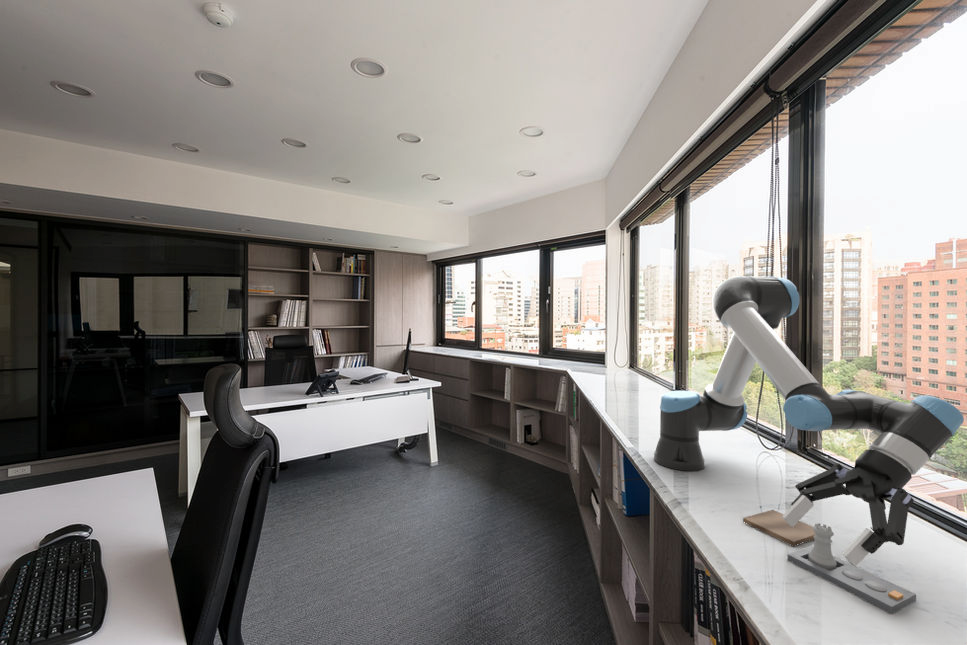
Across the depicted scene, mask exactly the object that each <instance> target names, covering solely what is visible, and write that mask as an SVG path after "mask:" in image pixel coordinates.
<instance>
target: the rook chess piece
mask: <svg viewBox="0 0 967 645" xmlns="http://www.w3.org/2000/svg"><path fill="white" fill-rule="evenodd" d="M812 529H813V531H814V532H815V535H814V538H815V539H814V544H813V547H814V548H813V550H811V552H810V553H809V555H808V557H809V559H808V561H810V562H812V563H814V564H816V565H818V566H820V567H822V568H824V569H826V570H828V571H831V570H834V569H836V568H837V567H836V565H837V563H836V561H835V559H834V557H833V556H834V555H833V553H832V543H833V540H832V538H833V536H835V533H834V532H833V530H832V527H831V526H827V524H824V523H823V524H821V523H818V522H817V523H815V524H814V526H813V528H812ZM832 555H833V556H832Z"/></svg>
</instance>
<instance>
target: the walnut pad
mask: <svg viewBox="0 0 967 645" xmlns="http://www.w3.org/2000/svg"><path fill="white" fill-rule="evenodd" d="M784 514H785V513H782V512H779V511H777V510H775V509H770V510H766V511H763V512H759V513H756V514H752V515H748V516H746V517H742V520H743V521H742V523H744V522H745V523H744V524H746V523H747V524H746V525H748V526H750V527H752V528H755V529H757V530H759V531H761V532H763V533H765V534H766V535H769V536H771V537H774V538H775V539H777V540H779V541H781V542H783V541H784V543H785V542H786V543H785V544H787V543H788V545H790V544H791V545H790V546H792V545H793V546H792V547H796V546H798V545H797V544H799V545H801V544H800V543H802V542H805V543H807V542H806V541H808V542H810V541H809V540H811V541H813V540H815V538H814V535H815V532H814V531H813V529H812V528H813V527H814V526H812V525H810V524H808V523H806V522H804V521H800V520H799V521H798V522H797V523H796V524H795V525H794V526H793V527H792V526H790V525H789V524H788V523H787V522H786V521H785V520H784V519H783V518H782V516H783V515H784ZM812 539H813V540H812ZM802 544H803V543H802ZM795 545H796V546H795Z"/></svg>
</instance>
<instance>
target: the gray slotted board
mask: <svg viewBox="0 0 967 645" xmlns="http://www.w3.org/2000/svg"><path fill="white" fill-rule="evenodd" d="M813 548H814V545H810V546H807V547H803V548H801V549H797V550H795V551H792V552H790V553H787V555H786V556H787V559H786V560H787V562H791V563H793V564H794V565H796V566H798V567H800V568H802V569H804V570H806V571H807V572H810V573H812V574H813V575H816V576H818V577H819V578H821V579H824V580H825V581H827V582H829V583H831V584H833V585H835V586H837V587H838V588H840V589H842V590H845V591H847V592H849V593H851V594H852V595H854V596H856V597H858V598H861V599H862V600H864V601H866V602H868V603H870V604H871V605H874V606H875V607H877V608H879V609H882V610H883V611H885V612H887V613H889V614H891V615H893V614H894V613H896V612H898V611H901V609H904V608H905V607H908V606H909V605H911V604H913V603H915V602H916V601H917V593H915V592H912V591H910V590H908V589H906V588H904V587H902V586H899V585H897V584H895V583H893V582H891V581H889V580H888V579H887V580H886V579H885V578H883V577H880V576H878V575H876V574H874V573H872V572H870V571H867V570H865V569H863V568H861V567H858V565H857V566H856V567H855V566H853V565H852V564H851V563H850V562H849V561H846V560H843V559H841V558H839V557H837V556H834V555H833V554H832V556H833V557H834V559H835V561H836V563H837V565H836V569H834V570H831V571H828V570H826V569H824V568H822V567H820V566H818V565H816V564H814V563H812V562H810V561H808V560H807V559H809V557H808V555H809V553H810V552H811V550H813Z"/></svg>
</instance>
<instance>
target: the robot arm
mask: <svg viewBox="0 0 967 645" xmlns="http://www.w3.org/2000/svg"><path fill="white" fill-rule="evenodd" d="M797 290H798V288H797V286H796V285H795V283H793V282H792V280H789V279H788V278H786V277H785V278H784V277H777V276H774V275H773V276H771V275H770V276H769V275H768V276H747V275H746V276H744V275H736V276H732V277H729V278H726V279H724V280H723V281H722V282H721V283H719V285H718V286H716V289H715V290H714V292H713V295H712V302H711V303H712V308H713V312H714V313H715V316H716V317H717V319H718V320H719V321H720V323H721V325H723V326H724V327H726V328H730V329H731V331H732V335H731V337H730V339H729V341H728V344H727V347H726V349H725V352H724V354H723V357H722V360H721V362H720V364H719V368H718V369H717V373H716V374H715V378H714V380H713V383H709V384H708V385H706V387H705V389H704V391H703V393H702V395H701V394H699V393H698V392H696V391H693V390H692V391H691V390H672V391H668V392H666V393H664V394H663V395H662V396H661V398H660V405H659V409H660V417H659V418H660V419H659V420H660V422H659V423H660V424H659V425H660V426H659V430H660V431H659V440H658V441H657V445H656V447H655V450H654V453H653V460H654V461H655V462H656V463H657V464H659V465H661V466H663V467H666V468H668V469H669V468H670V469H674V470H677V471H686V472H687V471H690V472H692V471H695V472H696V471H700V470H703V469H704V468H705V458H704V456H703V452H702V448H701V445H700V442H699V441H700V438H699V437H700V432H710V431H712V432H714V431H715V432H716V431H723V432H724V431H727V432H728V431H732V430H738V429H740V428H741V427H742V426H743V425H744V424H745V423H746V421H747V418H748V411H747V409H748V407H747V404H746V402H745V401H746V400H745V397H744V396H743V392H744V390H745V387H746V385H747V383H748V382H749V379H750V376H751V374H752V372H753V369H754V367H755V364H757V365H758V367H760V368H761V370H762V372H763V373H764V375H766V376H767V378H768V380H770V381H771V383H772V384H773V386H774V387H775V388H776V390H777V391H778V392H779V393H780V395H781V396H782V397H783V399H784V400H785V401H784V404H783V408H782V412H783V413H784V418H785V420H786V422H787V423H788V424H790V425H791V426H792V427H794V428H795V429H797V430H800V431H810V432H811V431H812V432H823V431H834V430H847V431H848V430H870V431H873V432H876V433H879V434H880V435H878V436H877V438H876V439H875V440H873V442H871V443H870V445H869V446H868V449H865V450H863V452H862V453H861V454H860V455H859V456H858V458H856V459H855V461H854V463H855V464H854V467H852V468H851V469H850V470H848V469H847V468H844V467H843V465H842V464H841V463H838V462H837V463H835V464H833V465H832V466H831V467H830V468H829V469H827V470H825V471H823V472H821V473H820V472H819V473H818V474H816V475H814V476H812V477H810V478H808V479H806V480H804V481H803V480H802V481H801V482H799V483H797V484H796V485H795V486H794V487H795V489H797V491H798V492H799V495H798V496H797V497H796V498H795V499H794V500H793V501H792V502H791V504H790V505H791V506H790V507H789V508H788V509H787V510H786V511H785V512H784V513H783V514H784V515H783V516H782V518H783V519H784V520H785V521H786V522H787V523H788V524H789V525H790V526H792V527H793V526H794V525H795V524H796V523H797V522H798V521H800V520H801V519H802V518H803V517H805V515H806V514H807V513H808V512H809V511H810V510H811V509H812V508H813V507H814V506H815V505H814V502H816V501H821V500H825V499H828V498H833V497H834V498H835V497H837V496H843V495H844V496H850V495H851V496H853V497H855V498H857V499H861V500H862V501H864V502H865V503H868V506H869V512H870V519H871V525H872V526H870V527H869V528H870V529H869V528H867V527H866V528H865V529H864V530H863V531H862V532H861V533H860V534H859V535H858V536H857V537H856V539H855V540H854V541H852V542H851V544H850V545H849V546H848V547H847V548H846V549H845V550H844V551H843V552H842V553H841V555H842V556H843V558H845V559H846V560H847V562H848V563H850V564H852V565H853V566H855V567H856V566H857V567H858V565H859V564H860V563H861V562H862V561H863V560H864V559H865V557H866V556H867V555H869V554H871V555H872V554H875V553H876V552H877V551H878V550H879V549H880V548H881V547H882V545H883V544H884V543H894V544H895V545H897V546H903V545H904V542H905V536H906V529H907V528H906V527H907V521H908V514H909V508H910V507H911V506H912V504H913V503H914V501H915V499H914V498H913V497H912V496H911V495H910V494H909V492H907V491H906V490H905V488H904V487H905V486H906V485H907V484H908V483H909V481H910V480H912V478H913V476H912V475H916V474H917V473H918V471H920V470H921V469H922V468H923V467H924V466H925V464H926V463H927V462H928V461H929V460H930V459H931V458H932V457H933V455H935V454H936V452H937V451H938V450H940V449H941V447H942V446H944V445H945V444H946V443H947V442H948V441H949V440H950V439H951V438H953V437H954V436H955V433H956V432H957V431H958V430H959V428H960V427H961V426H962V425H963V423H964V420H965V417H964V414H962V413H961V411H960V410H959V408H957V406H955V405H953V404H951V403H950V402H949V401H946V400H944V399H942V398H939V397H936V396H933V395H926V394H925V395H918V396H917V397H915V398H914V399H911V401H910V403H908V402H906V401H905V402H904V401H899V400H894V399H890V398H888V397H882V396H878V395H875V394H871V393H868V392H866V391H862V390H854V389H849V388H848V389H842V390H841V391H840V392H837V393H835V394H829V393H828V392H827V390H826V389H825V388H824V387H823V386H822V385H821V384H820V382H818V381H817V379H816V378H815V377H814V376H813V374H812V373H811V372H810V371H809V370H808V369H807V367H806V366H805V365H804V364H803V363H802V361H800V359H799V358H798V357H797V356H796V355H795V353H794V352H793V351H792V350H791V348H790V347H788V345H787V344H786V343H785V341H783V339H781V337H780V336H779V335H778V334H777V333H776V331H775V330H776V329H778V327H779V325H780V324H781V321H782V319H785V318H788V317H790V316H793V315H794V314H795V313H796V312H797V310H798V308H799V305H800V294H799V293H800V292H799V291H797ZM889 498H891V500H890V505H889V511H888V517H887V514H886V510H887V507H886V502H885V500H886V499H889Z"/></svg>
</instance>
